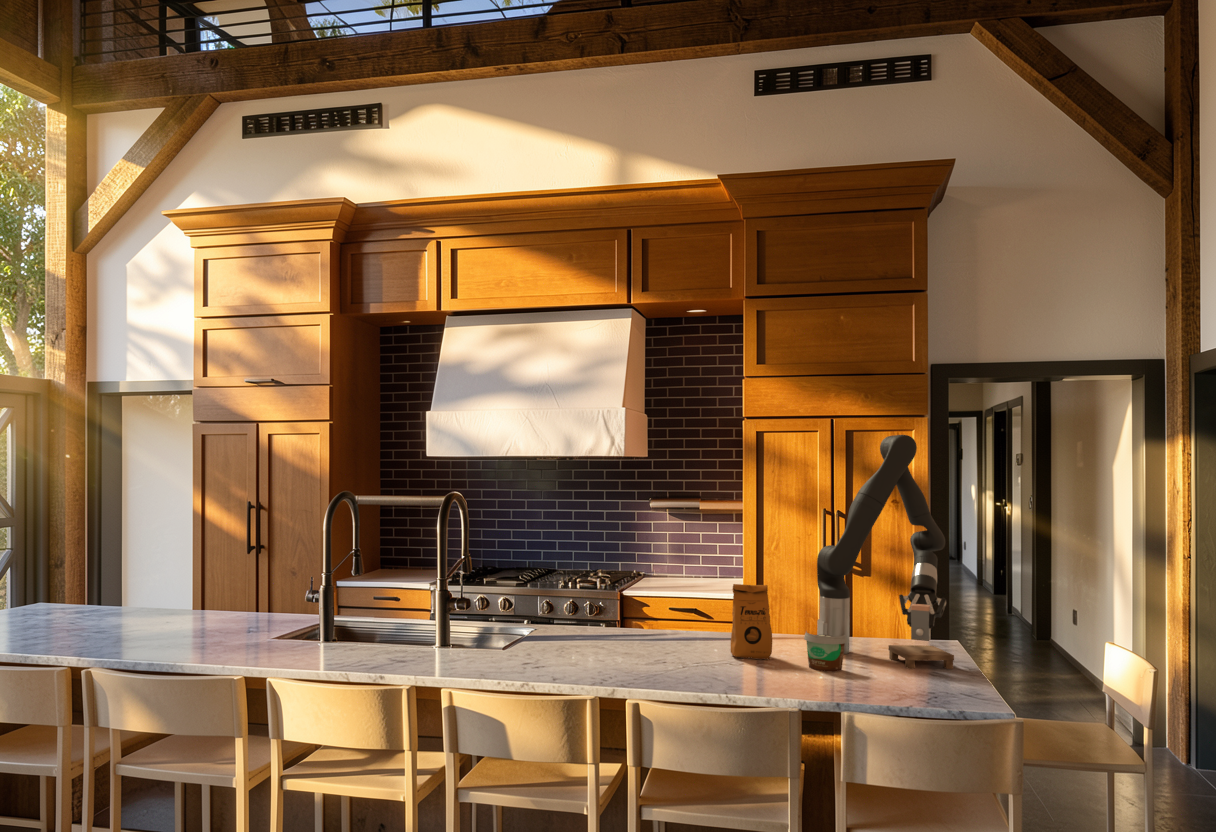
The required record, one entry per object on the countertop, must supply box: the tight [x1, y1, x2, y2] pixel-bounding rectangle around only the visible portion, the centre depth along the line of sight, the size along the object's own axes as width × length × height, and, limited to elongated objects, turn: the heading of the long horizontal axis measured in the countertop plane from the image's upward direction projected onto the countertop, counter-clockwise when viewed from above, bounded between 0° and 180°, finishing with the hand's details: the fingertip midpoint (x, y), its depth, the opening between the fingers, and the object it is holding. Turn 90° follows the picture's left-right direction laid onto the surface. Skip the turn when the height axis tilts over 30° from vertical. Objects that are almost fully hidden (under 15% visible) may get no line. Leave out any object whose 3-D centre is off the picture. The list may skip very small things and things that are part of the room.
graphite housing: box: [910, 604, 932, 642], centre depth 258 cm, size 5×6×10 cm
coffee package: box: [730, 583, 773, 660], centre depth 262 cm, size 10×12×22 cm
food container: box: [803, 630, 847, 673], centre depth 247 cm, size 12×6×10 cm, turn 62°
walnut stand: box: [888, 644, 955, 670], centre depth 258 cm, size 14×14×4 cm
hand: (920, 625), depth 257 cm, fingers closed on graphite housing, 5 cm apart
